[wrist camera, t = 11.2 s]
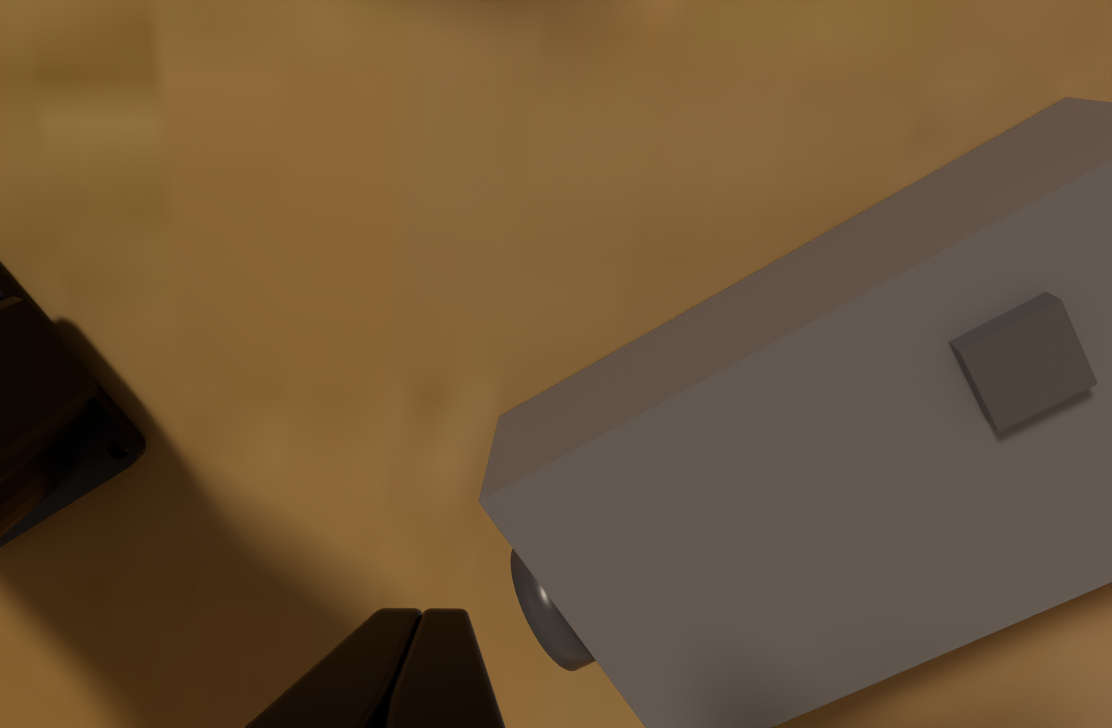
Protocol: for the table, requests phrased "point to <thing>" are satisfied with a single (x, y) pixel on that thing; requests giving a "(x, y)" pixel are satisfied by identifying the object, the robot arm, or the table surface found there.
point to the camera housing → (837, 449)
